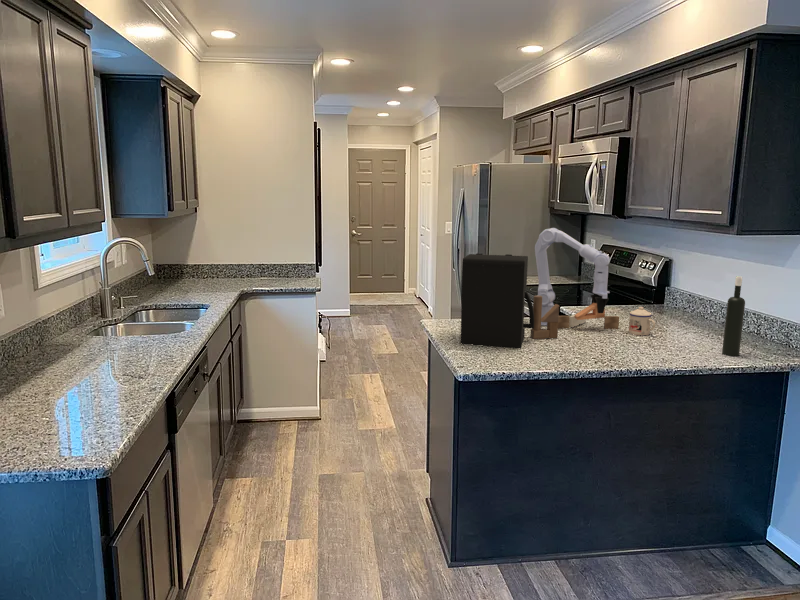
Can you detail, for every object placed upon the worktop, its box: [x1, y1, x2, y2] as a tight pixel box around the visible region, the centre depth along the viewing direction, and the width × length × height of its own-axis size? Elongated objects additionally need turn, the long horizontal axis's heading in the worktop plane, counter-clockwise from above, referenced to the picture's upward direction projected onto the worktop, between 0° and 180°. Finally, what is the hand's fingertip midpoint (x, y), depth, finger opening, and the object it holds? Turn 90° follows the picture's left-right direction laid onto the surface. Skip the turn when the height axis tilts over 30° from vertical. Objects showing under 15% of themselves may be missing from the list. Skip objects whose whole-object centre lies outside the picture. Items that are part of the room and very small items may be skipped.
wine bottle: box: [721, 275, 746, 357], centre depth 226 cm, size 6×6×30 cm
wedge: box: [574, 302, 606, 320], centre depth 265 cm, size 12×4×6 cm, turn 89°
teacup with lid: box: [628, 306, 656, 336], centre depth 258 cm, size 12×9×12 cm
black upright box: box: [460, 253, 534, 350], centre depth 244 cm, size 28×20×35 cm
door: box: [569, 314, 587, 328], centre depth 275 cm, size 15×1×5 cm, turn 139°
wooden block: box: [529, 294, 560, 340], centre depth 251 cm, size 4×11×18 cm, turn 98°
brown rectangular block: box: [558, 315, 620, 330], centre depth 269 cm, size 28×2×6 cm, turn 89°
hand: (598, 311), depth 265 cm, fingers closed on wedge, 4 cm apart
